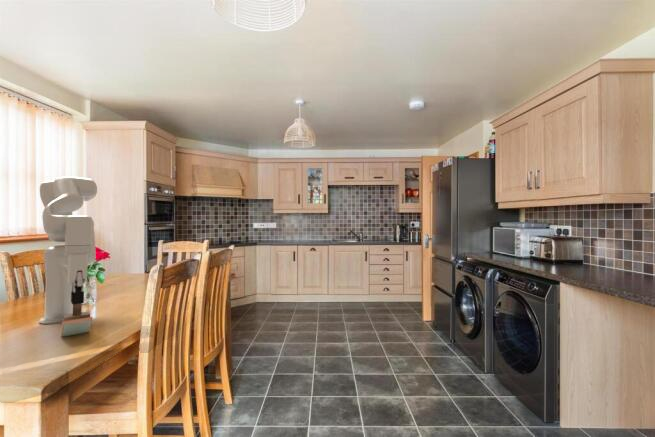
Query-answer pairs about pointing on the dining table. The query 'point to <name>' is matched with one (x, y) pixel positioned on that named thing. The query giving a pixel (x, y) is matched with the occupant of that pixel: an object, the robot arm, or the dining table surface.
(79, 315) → the tool
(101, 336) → the dining table surface
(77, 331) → the tile
